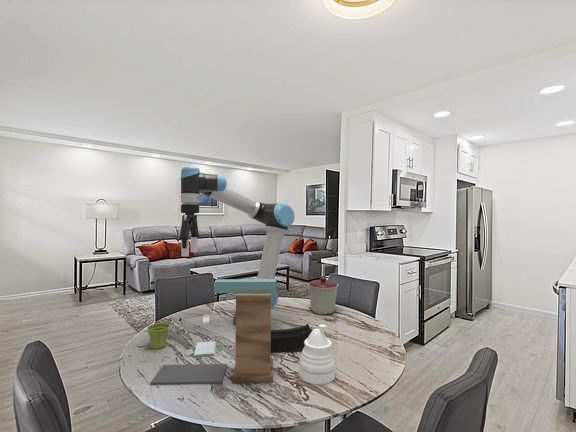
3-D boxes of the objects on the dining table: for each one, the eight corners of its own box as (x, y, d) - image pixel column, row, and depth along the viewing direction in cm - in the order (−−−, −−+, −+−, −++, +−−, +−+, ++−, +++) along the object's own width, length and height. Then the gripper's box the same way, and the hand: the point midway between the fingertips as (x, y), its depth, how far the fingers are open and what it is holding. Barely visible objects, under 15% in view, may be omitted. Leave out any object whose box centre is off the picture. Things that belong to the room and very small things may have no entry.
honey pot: (336, 367, 115) (336, 320, 115) (333, 386, 102) (333, 333, 102) (302, 363, 118) (303, 317, 117) (296, 381, 105) (296, 330, 105)
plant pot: (172, 341, 138) (172, 322, 137) (167, 350, 128) (167, 329, 128) (150, 342, 136) (150, 323, 136) (144, 351, 127) (144, 331, 127)
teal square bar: (216, 290, 111) (216, 279, 111) (276, 290, 112) (276, 279, 112) (214, 293, 107) (214, 281, 107) (276, 292, 108) (276, 281, 108)
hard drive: (214, 353, 123) (215, 340, 136) (193, 355, 122) (197, 341, 134) (214, 357, 123) (215, 344, 136) (193, 359, 122) (196, 345, 134)
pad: (163, 366, 114) (163, 364, 114) (227, 365, 116) (227, 363, 116) (150, 384, 103) (150, 382, 102) (221, 383, 104) (221, 381, 104)
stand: (236, 365, 116) (236, 287, 115) (273, 365, 116) (273, 287, 116) (232, 383, 104) (232, 296, 103) (272, 382, 104) (273, 295, 104)
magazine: (239, 333, 125) (308, 310, 128) (239, 330, 128) (306, 307, 131) (251, 372, 125) (319, 348, 129) (251, 368, 129) (317, 344, 132)
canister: (321, 305, 192) (321, 272, 192) (344, 312, 179) (344, 276, 179) (301, 311, 180) (301, 276, 180) (324, 319, 167) (324, 281, 166)
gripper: (191, 203, 116) (190, 258, 116) (205, 204, 141) (205, 250, 141) (171, 202, 115) (170, 258, 116) (189, 204, 140) (188, 250, 141)
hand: (189, 254), depth 128 cm, fingers open, 13 cm apart
